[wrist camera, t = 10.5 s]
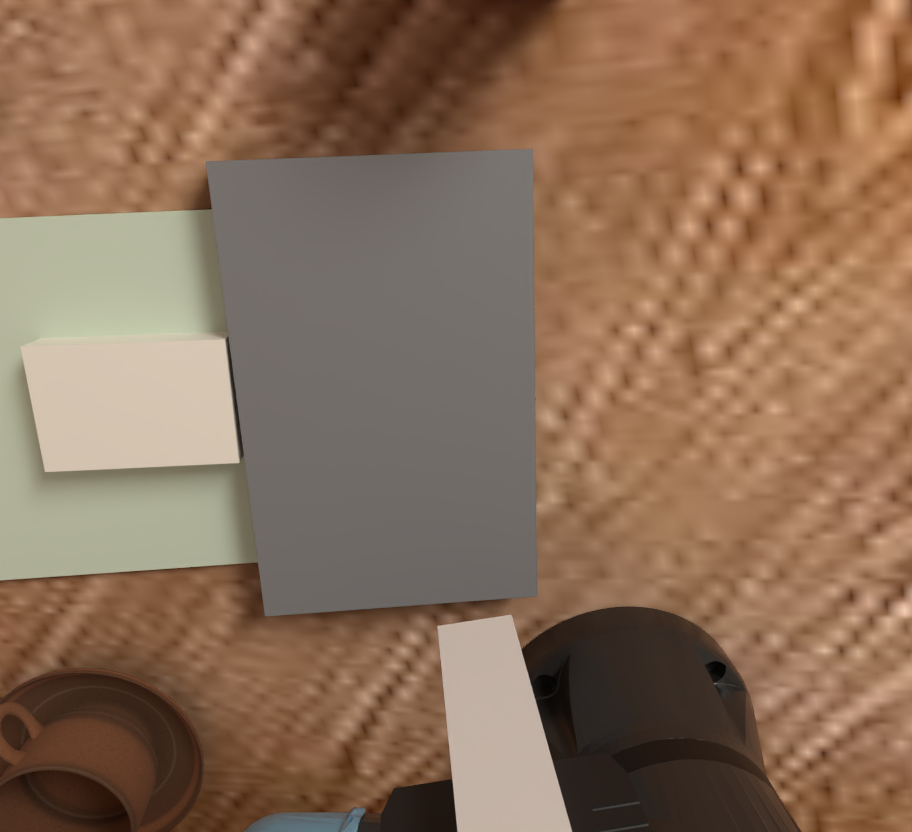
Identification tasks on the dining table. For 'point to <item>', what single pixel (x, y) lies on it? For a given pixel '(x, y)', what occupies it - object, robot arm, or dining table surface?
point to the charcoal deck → (384, 374)
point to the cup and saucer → (95, 755)
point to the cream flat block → (134, 401)
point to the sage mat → (109, 314)
